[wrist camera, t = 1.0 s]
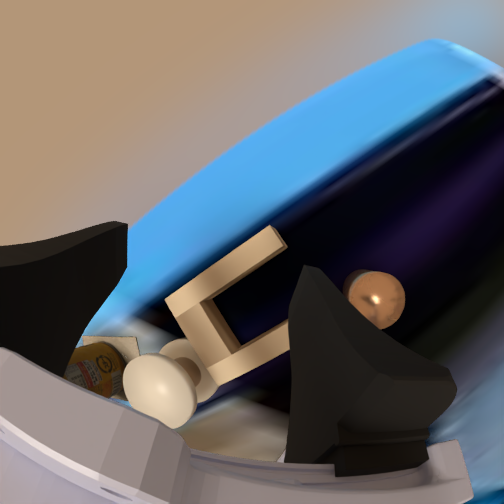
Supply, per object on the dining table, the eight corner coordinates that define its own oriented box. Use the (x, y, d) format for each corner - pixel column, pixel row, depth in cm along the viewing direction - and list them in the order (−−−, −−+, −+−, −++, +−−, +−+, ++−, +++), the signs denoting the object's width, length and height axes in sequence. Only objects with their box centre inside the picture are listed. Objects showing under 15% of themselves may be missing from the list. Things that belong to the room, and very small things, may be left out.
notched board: (275, 229, 22) (269, 225, 20) (332, 316, 21) (333, 323, 18) (179, 296, 24) (164, 299, 22) (228, 375, 23) (218, 386, 20)
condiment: (83, 335, 27) (-2, 355, 16) (136, 336, 25) (39, 368, 14) (97, 393, 27) (21, 428, 15) (152, 403, 25) (71, 457, 13)
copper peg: (386, 278, 20) (413, 285, 13) (370, 314, 20) (389, 337, 13) (352, 263, 21) (364, 263, 14) (336, 299, 21) (340, 316, 14)
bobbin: (232, 358, 23) (202, 385, 17) (208, 409, 23) (178, 441, 17) (173, 325, 24) (132, 340, 18) (155, 376, 25) (117, 399, 19)
